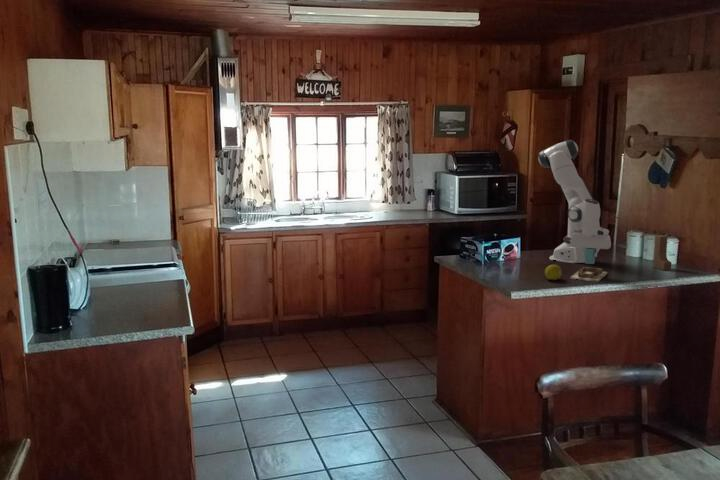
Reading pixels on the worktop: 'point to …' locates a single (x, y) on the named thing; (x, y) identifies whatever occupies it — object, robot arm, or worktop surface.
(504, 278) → the worktop surface
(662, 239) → the wooden block
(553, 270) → the lemon
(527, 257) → the worktop surface
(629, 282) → the worktop surface
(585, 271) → the keyhole guide
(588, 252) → the teal peg
